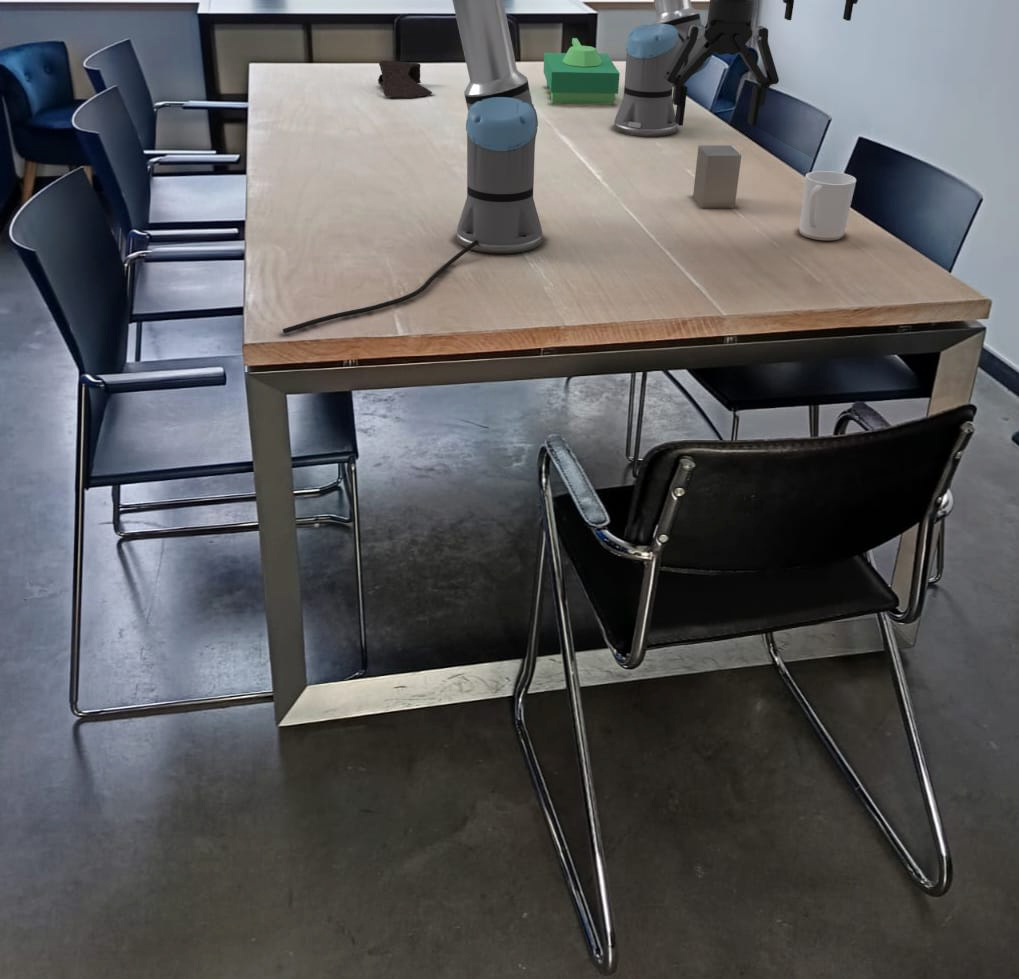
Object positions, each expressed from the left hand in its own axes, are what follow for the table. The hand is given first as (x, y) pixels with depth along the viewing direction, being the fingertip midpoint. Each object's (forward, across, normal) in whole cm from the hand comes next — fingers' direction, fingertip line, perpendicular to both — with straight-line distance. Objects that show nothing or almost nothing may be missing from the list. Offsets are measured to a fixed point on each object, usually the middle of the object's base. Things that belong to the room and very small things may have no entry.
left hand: (715, 124), depth 197 cm
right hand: (-10, -39, -57) cm, 70 cm away
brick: (+18, -6, -13) cm, 23 cm away
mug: (+18, -20, +8) cm, 28 cm away
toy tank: (+19, +2, -115) cm, 117 cm away
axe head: (+20, +50, -119) cm, 130 cm away
